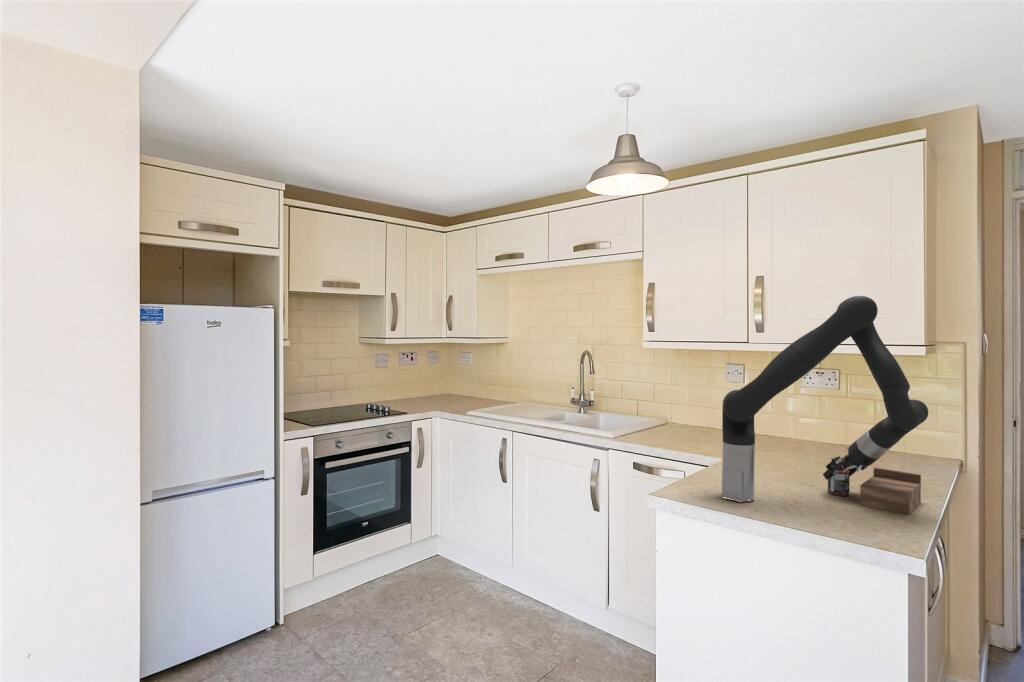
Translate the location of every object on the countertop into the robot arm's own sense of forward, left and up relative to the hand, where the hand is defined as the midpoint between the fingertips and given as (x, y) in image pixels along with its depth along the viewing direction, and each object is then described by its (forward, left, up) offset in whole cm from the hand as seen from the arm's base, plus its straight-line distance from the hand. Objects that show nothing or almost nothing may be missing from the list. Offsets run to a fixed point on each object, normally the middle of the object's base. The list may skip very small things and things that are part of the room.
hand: (835, 476), depth 177 cm
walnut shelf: (0, -15, -5) cm, 16 cm away
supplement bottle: (0, -1, -6) cm, 6 cm away
